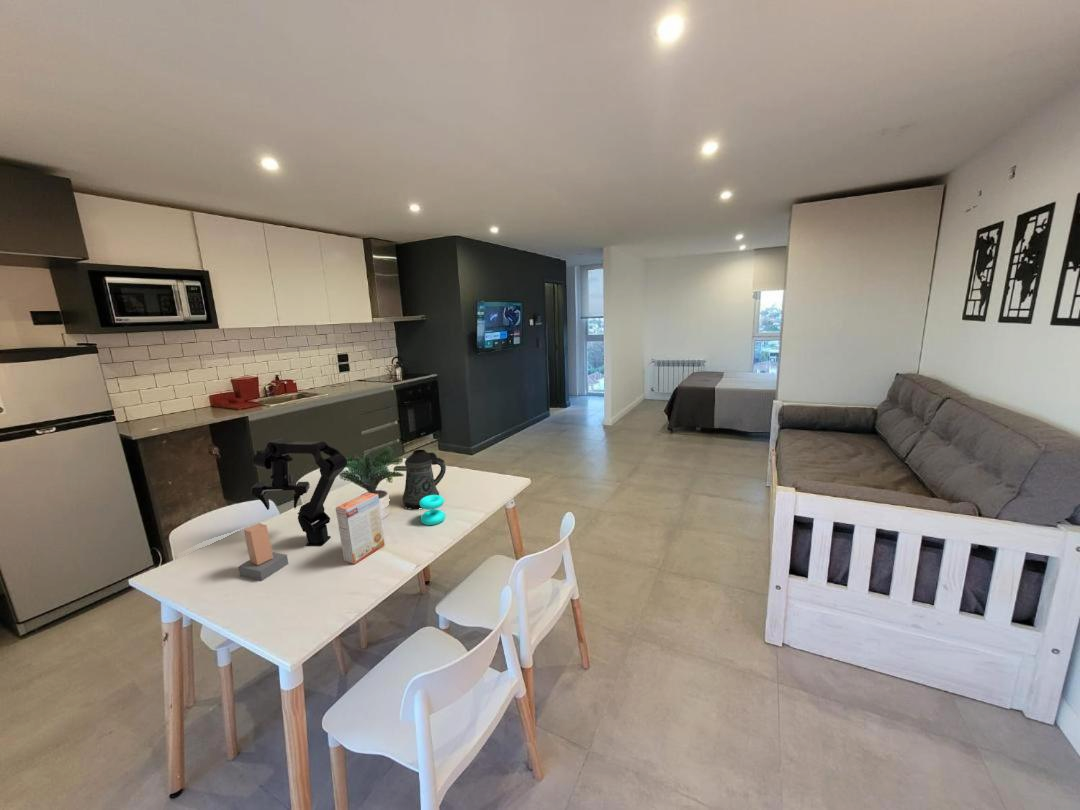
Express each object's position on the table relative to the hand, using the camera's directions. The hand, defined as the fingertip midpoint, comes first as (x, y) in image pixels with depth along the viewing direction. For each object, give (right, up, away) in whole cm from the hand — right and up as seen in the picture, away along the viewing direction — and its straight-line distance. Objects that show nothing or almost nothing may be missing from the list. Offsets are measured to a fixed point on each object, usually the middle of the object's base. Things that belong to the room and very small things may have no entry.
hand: (281, 508), depth 162 cm
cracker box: (+37, -14, -10) cm, 41 cm away
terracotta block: (+5, -13, -20) cm, 24 cm away
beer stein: (+47, -5, +32) cm, 57 cm away
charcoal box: (+6, -17, -19) cm, 26 cm away
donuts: (+56, -9, +13) cm, 58 cm away
